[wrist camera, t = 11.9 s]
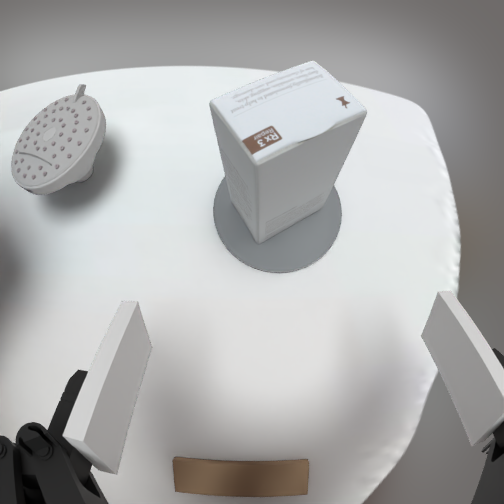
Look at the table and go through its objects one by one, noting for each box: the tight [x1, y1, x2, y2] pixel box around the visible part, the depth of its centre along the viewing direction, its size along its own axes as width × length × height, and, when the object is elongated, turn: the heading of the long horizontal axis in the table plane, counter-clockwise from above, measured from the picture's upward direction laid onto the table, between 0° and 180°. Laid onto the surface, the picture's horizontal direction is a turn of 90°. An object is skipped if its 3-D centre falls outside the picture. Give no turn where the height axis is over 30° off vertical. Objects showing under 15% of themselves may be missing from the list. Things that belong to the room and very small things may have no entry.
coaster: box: [213, 177, 342, 273], centre depth 24 cm, size 10×10×1 cm
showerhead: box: [11, 85, 106, 195], centre depth 23 cm, size 9×7×10 cm
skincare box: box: [209, 61, 367, 244], centre depth 18 cm, size 6×4×12 cm
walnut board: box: [173, 457, 309, 497], centre depth 18 cm, size 10×3×1 cm, turn 90°
